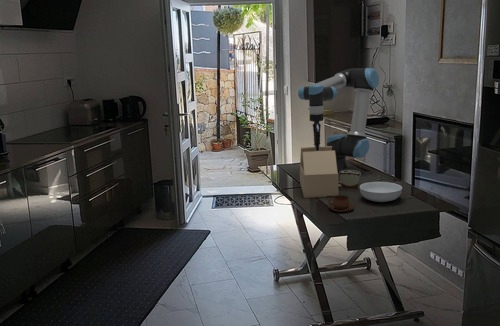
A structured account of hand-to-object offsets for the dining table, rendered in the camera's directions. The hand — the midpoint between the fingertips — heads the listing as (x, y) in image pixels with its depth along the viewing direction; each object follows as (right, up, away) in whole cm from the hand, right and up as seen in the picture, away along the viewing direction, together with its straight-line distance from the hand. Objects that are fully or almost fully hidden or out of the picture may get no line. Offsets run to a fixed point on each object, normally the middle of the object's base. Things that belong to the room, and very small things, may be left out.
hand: (317, 156), depth 265 cm
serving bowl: (+29, -23, -21) cm, 43 cm away
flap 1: (0, +1, +6) cm, 6 cm away
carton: (+1, -19, +1) cm, 19 cm away
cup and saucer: (+7, -27, -33) cm, 43 cm away
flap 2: (0, -4, -12) cm, 13 cm away
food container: (+19, -18, 0) cm, 26 cm away
